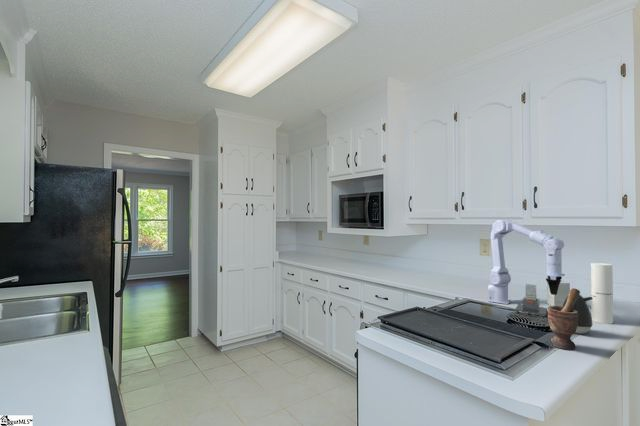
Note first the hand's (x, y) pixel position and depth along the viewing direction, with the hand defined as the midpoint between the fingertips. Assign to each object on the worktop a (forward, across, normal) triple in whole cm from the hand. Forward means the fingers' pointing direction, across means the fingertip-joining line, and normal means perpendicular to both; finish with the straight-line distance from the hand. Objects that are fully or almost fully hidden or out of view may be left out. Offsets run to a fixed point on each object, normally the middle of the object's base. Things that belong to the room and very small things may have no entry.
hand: (554, 292), depth 153 cm
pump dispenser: (+10, -22, -8) cm, 26 cm away
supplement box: (+10, +19, -1) cm, 21 cm away
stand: (+10, -1, +9) cm, 14 cm away
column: (+6, -1, +9) cm, 11 cm away
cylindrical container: (+10, +1, -17) cm, 20 cm away
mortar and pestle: (+10, -42, -5) cm, 43 cm away
